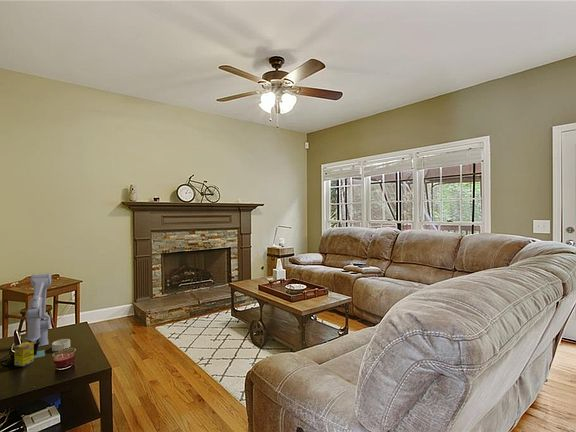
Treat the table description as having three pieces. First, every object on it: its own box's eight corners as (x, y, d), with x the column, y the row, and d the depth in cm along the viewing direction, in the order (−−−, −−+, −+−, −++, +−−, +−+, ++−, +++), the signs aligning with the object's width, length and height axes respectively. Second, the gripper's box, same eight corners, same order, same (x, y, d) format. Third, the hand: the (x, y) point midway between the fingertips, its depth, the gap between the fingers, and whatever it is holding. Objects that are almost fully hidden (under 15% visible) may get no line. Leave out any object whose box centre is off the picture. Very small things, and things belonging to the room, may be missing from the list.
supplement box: (23, 367, 170) (23, 347, 170) (14, 366, 171) (14, 346, 171) (34, 362, 176) (34, 342, 176) (25, 361, 177) (25, 341, 177)
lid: (23, 355, 186) (23, 347, 186) (44, 351, 192) (44, 343, 192) (22, 361, 178) (22, 353, 178) (44, 357, 184) (44, 348, 184)
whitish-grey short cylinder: (51, 347, 195) (51, 341, 195) (69, 344, 201) (69, 337, 201) (52, 352, 188) (52, 346, 188) (70, 349, 194) (70, 342, 194)
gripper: (25, 326, 188) (25, 349, 188) (24, 334, 177) (24, 358, 177) (40, 324, 192) (40, 346, 193) (40, 331, 181) (40, 355, 181)
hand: (33, 352), depth 185 cm, fingers open, 7 cm apart
